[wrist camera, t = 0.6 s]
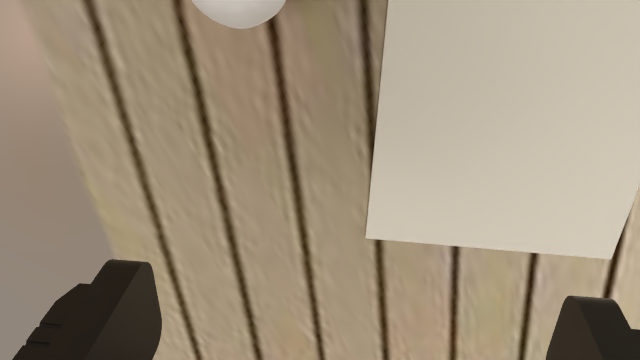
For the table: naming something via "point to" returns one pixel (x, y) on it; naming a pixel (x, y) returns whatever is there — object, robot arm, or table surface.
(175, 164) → the table surface
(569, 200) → the mat
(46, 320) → the robot arm
